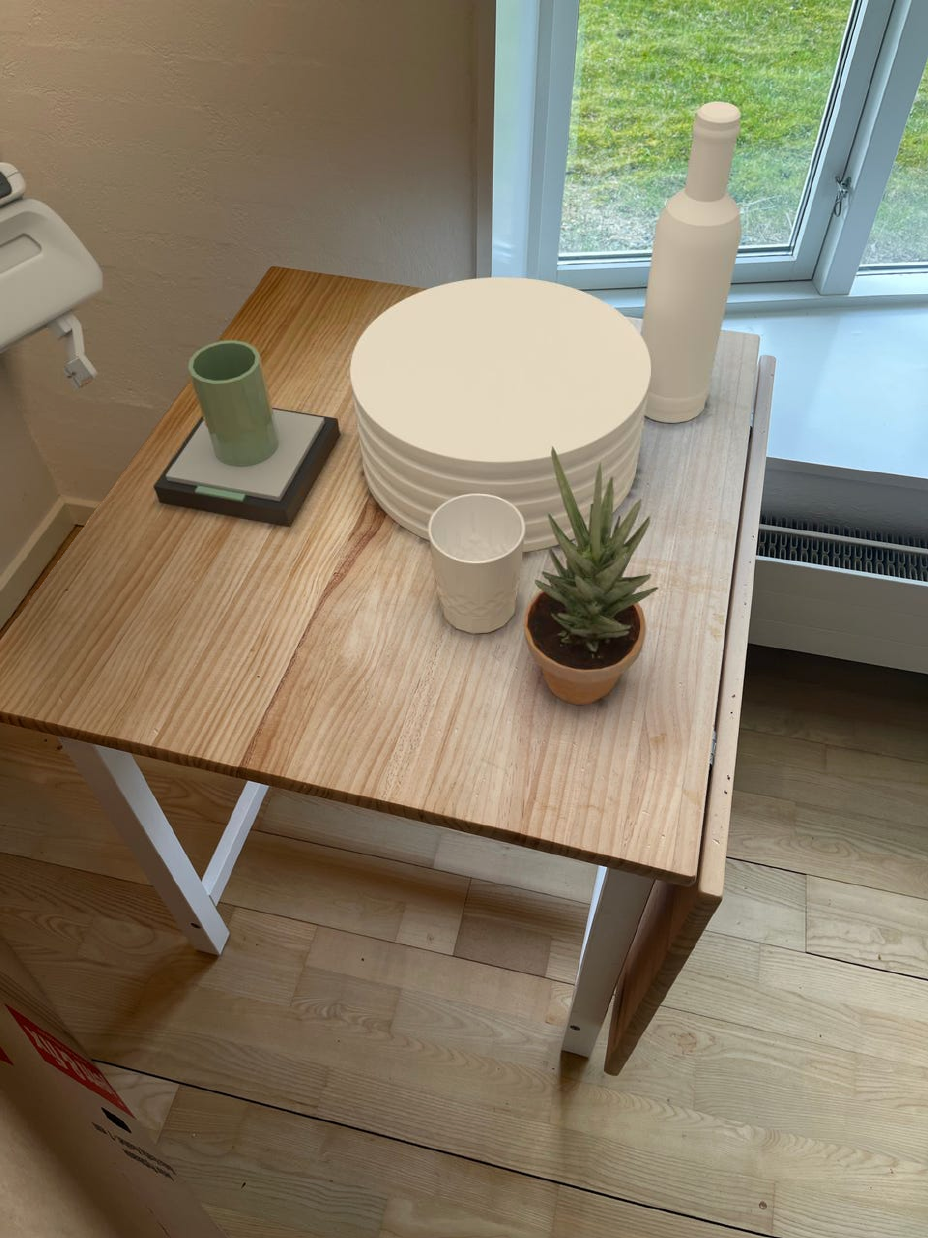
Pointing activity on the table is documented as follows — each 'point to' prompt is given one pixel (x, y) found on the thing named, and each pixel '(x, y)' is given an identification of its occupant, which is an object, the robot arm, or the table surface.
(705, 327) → the bottle
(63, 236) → the robot arm
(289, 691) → the table surface
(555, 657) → the potted plant
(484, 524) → the white cup
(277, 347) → the table surface
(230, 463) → the tumbler
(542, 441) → the plate stack
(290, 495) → the scale
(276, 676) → the table surface
